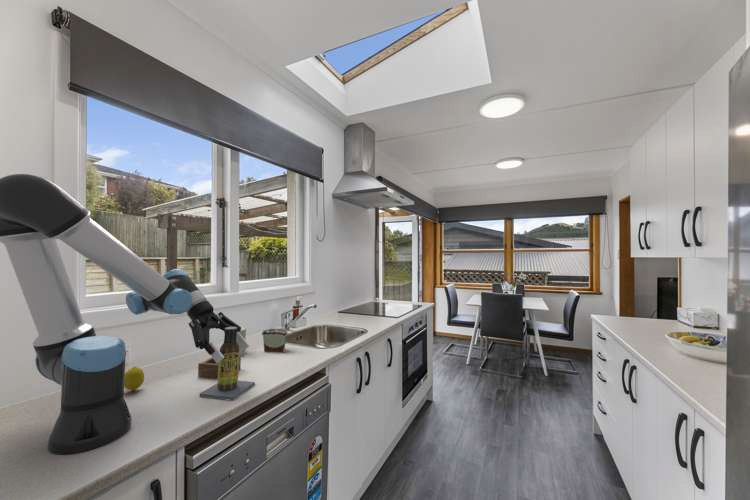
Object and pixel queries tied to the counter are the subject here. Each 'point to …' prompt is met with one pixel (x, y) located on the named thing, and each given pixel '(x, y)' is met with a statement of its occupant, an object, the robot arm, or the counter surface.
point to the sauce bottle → (229, 360)
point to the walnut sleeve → (210, 368)
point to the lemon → (133, 378)
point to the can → (243, 333)
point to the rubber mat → (227, 391)
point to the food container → (274, 340)
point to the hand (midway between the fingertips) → (234, 354)
